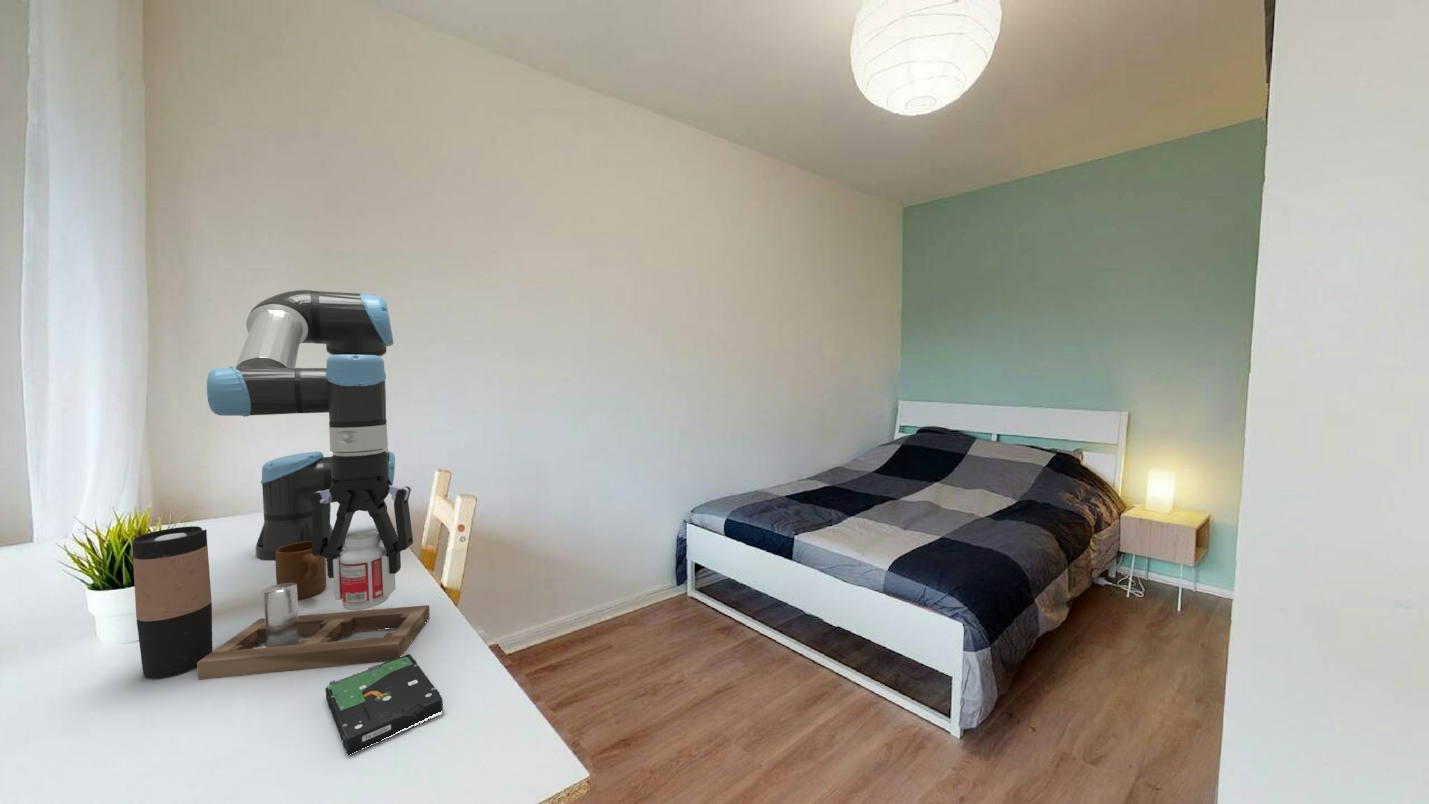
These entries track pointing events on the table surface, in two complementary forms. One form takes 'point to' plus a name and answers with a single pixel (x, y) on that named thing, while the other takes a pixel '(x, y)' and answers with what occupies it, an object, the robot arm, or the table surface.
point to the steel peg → (281, 615)
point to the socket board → (318, 643)
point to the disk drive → (381, 702)
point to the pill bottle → (362, 571)
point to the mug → (301, 568)
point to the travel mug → (172, 600)
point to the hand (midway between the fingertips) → (365, 594)
